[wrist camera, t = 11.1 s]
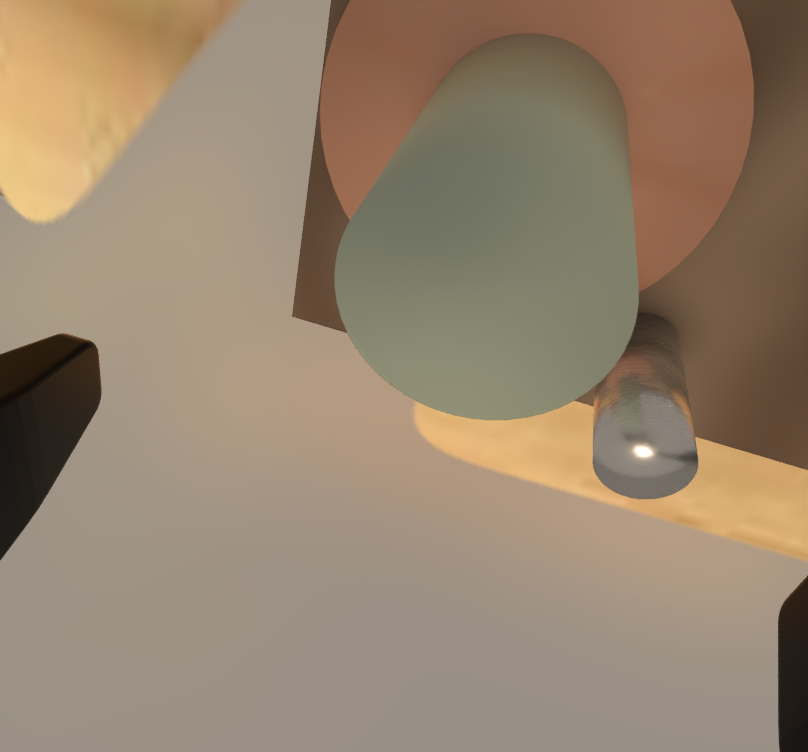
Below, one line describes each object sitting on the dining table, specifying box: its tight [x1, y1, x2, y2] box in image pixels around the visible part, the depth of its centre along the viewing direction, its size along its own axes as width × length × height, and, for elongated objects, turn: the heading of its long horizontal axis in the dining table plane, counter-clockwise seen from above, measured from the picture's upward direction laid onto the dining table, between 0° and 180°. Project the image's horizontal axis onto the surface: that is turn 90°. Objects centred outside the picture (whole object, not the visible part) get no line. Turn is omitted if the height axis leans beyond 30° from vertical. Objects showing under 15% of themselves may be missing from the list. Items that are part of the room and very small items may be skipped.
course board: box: [292, 0, 808, 470], centre depth 18 cm, size 18×15×1 cm
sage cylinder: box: [335, 33, 639, 420], centre depth 15 cm, size 5×5×8 cm
